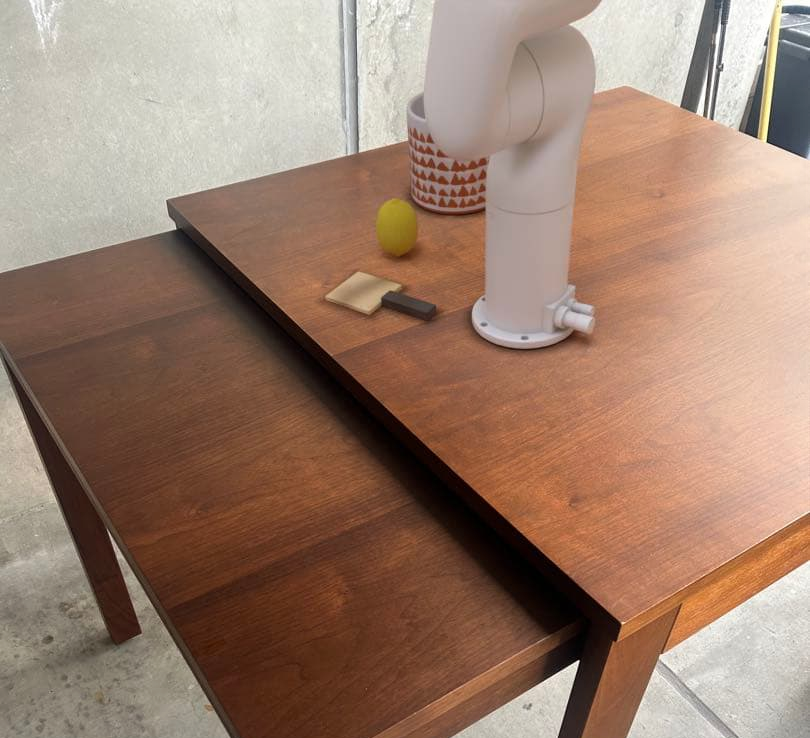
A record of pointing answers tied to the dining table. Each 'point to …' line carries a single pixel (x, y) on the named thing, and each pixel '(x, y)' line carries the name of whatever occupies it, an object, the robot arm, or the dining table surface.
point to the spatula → (378, 297)
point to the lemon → (396, 227)
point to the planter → (441, 171)
